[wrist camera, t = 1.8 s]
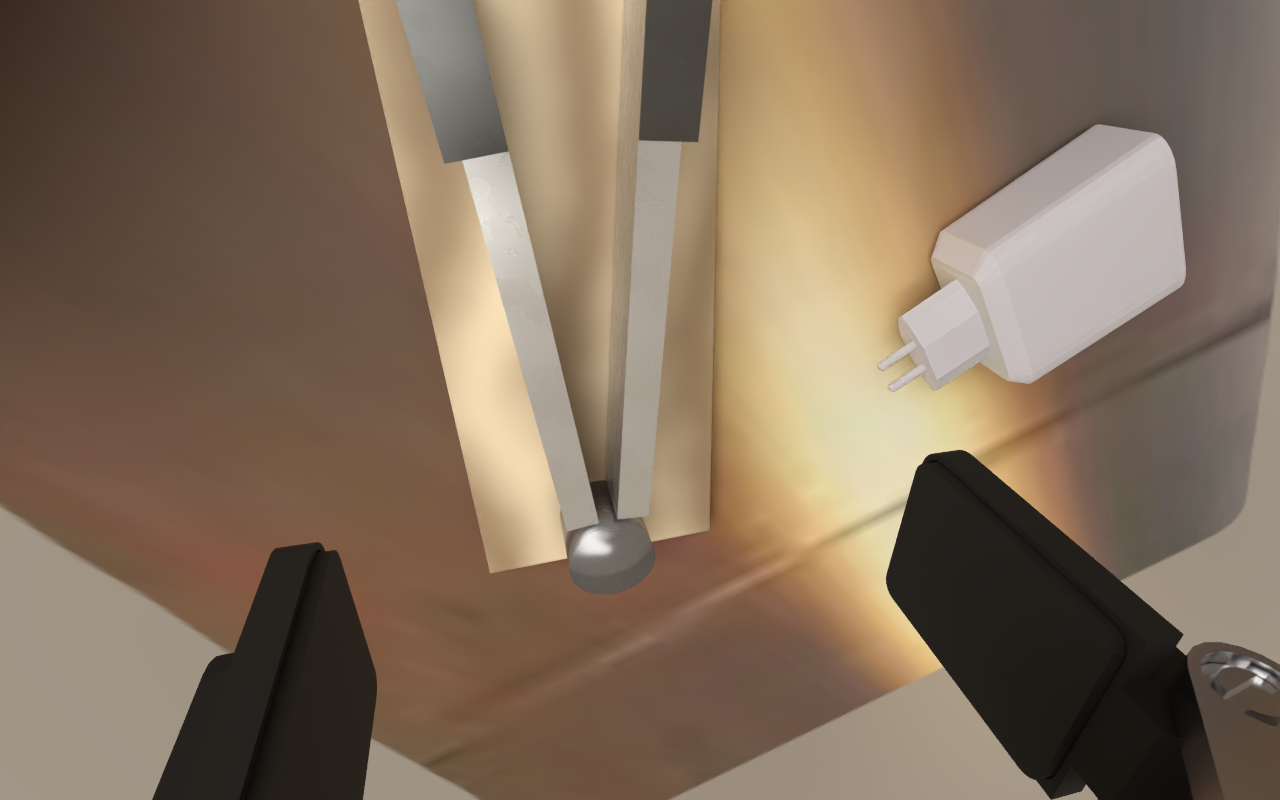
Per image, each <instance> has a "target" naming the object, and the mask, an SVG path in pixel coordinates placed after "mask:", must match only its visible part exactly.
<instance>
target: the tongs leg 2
mask: <svg viewBox="0 0 1280 800" xmlns="http://www.w3.org/2000/svg"><path fill="white" fill-rule="evenodd" d="M712 1H713V0H624V18H623V43H622V67H621V91H620V116H619V140H618V164H617V189H616V213H615V237H614V262H613V286H612V310H611V335H610V359H609V383H608V408H607V432H606V456H605V480H606V483H607V486H608V490H609V493H610V496H611V500H612V503H613V506H614V510H615V513H616V516H617V519H626V518H636V517H645V516H649V509H650V497H651V486H652V475H653V463H654V452H655V440H656V429H657V418H658V406H659V395H660V383H661V372H662V361H663V349H664V338H665V326H666V315H667V304H668V292H669V281H670V269H671V258H672V247H673V235H674V224H675V212H676V201H677V190H678V178H679V167H680V155H681V144H682V142H698V141H699V131H700V121H701V111H702V101H703V91H704V81H705V71H706V61H707V51H708V41H709V31H710V21H711V11H712Z"/></svg>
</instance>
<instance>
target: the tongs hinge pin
mask: <svg viewBox="0 0 1280 800" xmlns="http://www.w3.org/2000/svg"><path fill="white" fill-rule="evenodd" d="M589 484H590V488H591V492H592V496H593V500H594V504H595V508H596V513H597V517H598V521H599V523H597V524H593V525H590V526H586V527H582V528H578V529H575V530H571V531H567V529H566V526H565V522H564V519H563V515H562V512H561V511H560V521H561V526H562V532H563V537H564V543H565V548H566V554H567V559H568V564H569V570H570V574H571V577H572V580H573V581H574V582H575V584H576V585H577V586H578V587H580V588H581V589H583V590H585V591H587V592H590V593H594V594H604V595H605V594H614V593H619V592H622V591H625V590H627V589H630V588H632V587H633V586H635V585H637V584H638V583H639V582H641V581H642V580H643V579H644V578H645V577H646V576H647V575H648V573H649V572H650V571H651V569H652V567H653V564H654V560H655V551H654V547H653V545H652V542H651V539H650V536H649V533H648V530H647V527H646V525H645V522H644V519H643V517H636V518H626V519H617V516H616V513H615V510H614V506H613V503H612V500H611V496H610V493H609V490H608V486H607V483H606V480H601V481H594V482H590V483H589Z"/></svg>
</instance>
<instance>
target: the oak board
mask: <svg viewBox="0 0 1280 800" xmlns="http://www.w3.org/2000/svg"><path fill="white" fill-rule="evenodd" d="M358 1H359V5H360V9H361V14H362V18H363V22H364V27H365V31H366V36H367V40H368V44H369V49H370V53H371V57H372V62H373V66H374V70H375V75H376V79H377V83H378V88H379V92H380V96H381V101H382V105H383V109H384V114H385V118H386V122H387V127H388V131H389V135H390V140H391V144H392V149H393V153H394V157H395V162H396V166H397V170H398V175H399V179H400V183H401V188H402V192H403V196H404V201H405V205H406V209H407V214H408V218H409V222H410V227H411V231H412V235H413V240H414V244H415V248H416V253H417V257H418V262H419V266H420V270H421V275H422V279H423V283H424V288H425V292H426V296H427V301H428V305H429V309H430V314H431V318H432V322H433V327H434V331H435V335H436V340H437V344H438V348H439V353H440V357H441V361H442V366H443V370H444V374H445V379H446V383H447V388H448V392H449V396H450V401H451V405H452V409H453V414H454V418H455V422H456V427H457V431H458V435H459V440H460V444H461V448H462V453H463V457H464V461H465V466H466V470H467V474H468V479H469V483H470V487H471V492H472V496H473V501H474V505H475V509H476V514H477V518H478V522H479V527H480V531H481V535H482V540H483V544H484V548H485V553H486V557H487V561H488V566H489V570H490V573H494V572H500V571H505V570H510V569H515V568H520V567H525V566H530V565H535V564H540V563H545V562H551V561H556V560H561V559H566V558H567V554H566V548H565V543H564V537H563V532H562V526H561V521H560V511H561V508H560V505H559V501H558V497H557V494H556V490H555V487H554V483H553V480H552V476H551V473H550V469H549V466H548V462H547V459H546V455H545V451H544V448H543V444H542V441H541V437H540V434H539V430H538V427H537V423H536V420H535V416H534V413H533V409H532V405H531V402H530V398H529V395H528V391H527V388H526V384H525V381H524V377H523V374H522V370H521V367H520V363H519V359H518V356H517V352H516V349H515V345H514V342H513V338H512V335H511V331H510V328H509V324H508V321H507V317H506V313H505V310H504V306H503V303H502V299H501V296H500V292H499V289H498V285H497V282H496V278H495V275H494V271H493V267H492V264H491V260H490V257H489V253H488V250H487V246H486V243H485V239H484V236H483V232H482V229H481V225H480V221H479V218H478V214H477V211H476V207H475V204H474V200H473V197H472V193H471V190H470V186H469V183H468V179H467V175H466V172H465V168H464V165H463V161H457V162H452V163H447V164H444V161H443V158H442V154H441V151H440V148H439V144H438V141H437V138H436V134H435V131H434V128H433V124H432V121H431V117H430V114H429V111H428V107H427V104H426V101H425V97H424V94H423V91H422V87H421V84H420V81H419V77H418V74H417V70H416V67H415V64H414V60H413V57H412V54H411V50H410V47H409V44H408V40H407V37H406V34H405V30H404V27H403V23H402V20H401V17H400V13H399V10H398V7H397V3H396V0H358ZM472 2H473V6H474V10H475V14H476V19H477V23H478V27H479V31H480V35H481V39H482V43H483V47H484V51H485V56H486V60H487V64H488V68H489V72H490V76H491V80H492V84H493V89H494V93H495V97H496V101H497V105H498V109H499V113H500V117H501V121H502V126H503V130H504V134H505V138H506V142H507V146H508V150H509V155H510V159H511V163H512V167H513V171H514V175H515V179H516V183H517V187H518V192H519V196H520V200H521V204H522V208H523V212H524V216H525V220H526V224H527V229H528V233H529V237H530V241H531V245H532V249H533V253H534V257H535V262H536V266H537V270H538V274H539V278H540V282H541V286H542V290H543V294H544V299H545V303H546V307H547V311H548V315H549V319H550V323H551V327H552V331H553V336H554V340H555V344H556V348H557V352H558V356H559V360H560V364H561V369H562V373H563V377H564V381H565V385H566V389H567V393H568V397H569V401H570V406H571V410H572V414H573V418H574V422H575V426H576V430H577V434H578V438H579V443H580V447H581V451H582V455H583V459H584V463H585V467H586V471H587V476H588V480H589V483H590V482H594V481H601V480H605V456H606V432H607V408H608V383H609V359H610V335H611V310H612V286H613V262H614V237H615V213H616V189H617V164H618V140H619V116H620V91H621V67H622V43H623V18H624V0H472ZM720 4H721V0H713V1H712V11H711V21H710V31H709V41H708V51H707V61H706V71H705V81H704V91H703V101H702V111H701V121H700V131H699V141H698V142H682V144H681V155H680V167H679V178H678V190H677V201H676V212H675V224H674V235H673V247H672V258H671V269H670V281H669V292H668V304H667V315H666V326H665V338H664V349H663V361H662V372H661V383H660V395H659V406H658V418H657V429H656V440H655V452H654V463H653V475H652V486H651V497H650V509H649V516H645V517H643V519H644V522H645V525H646V527H647V530H648V533H649V536H650V539H651V542H652V541H658V540H663V539H668V538H673V537H678V536H683V535H688V534H693V533H698V532H703V531H709V527H710V480H711V432H712V385H713V337H714V289H715V242H716V194H717V147H718V99H719V52H720Z"/></svg>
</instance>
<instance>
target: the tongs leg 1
mask: <svg viewBox="0 0 1280 800" xmlns="http://www.w3.org/2000/svg"><path fill="white" fill-rule="evenodd" d="M396 3H397V7H398V10H399V13H400V17H401V20H402V23H403V27H404V30H405V34H406V37H407V40H408V44H409V47H410V50H411V54H412V57H413V60H414V64H415V67H416V70H417V74H418V77H419V81H420V84H421V87H422V91H423V94H424V97H425V101H426V104H427V107H428V111H429V114H430V117H431V121H432V124H433V128H434V131H435V134H436V138H437V141H438V144H439V148H440V151H441V154H442V158H443V161H444V164H447V163H452V162H457V161H463V165H464V168H465V172H466V175H467V179H468V183H469V186H470V190H471V193H472V197H473V200H474V204H475V207H476V211H477V214H478V218H479V221H480V225H481V229H482V232H483V236H484V239H485V243H486V246H487V250H488V253H489V257H490V260H491V264H492V267H493V271H494V275H495V278H496V282H497V285H498V289H499V292H500V296H501V299H502V303H503V306H504V310H505V313H506V317H507V321H508V324H509V328H510V331H511V335H512V338H513V342H514V345H515V349H516V352H517V356H518V359H519V363H520V367H521V370H522V374H523V377H524V381H525V384H526V388H527V391H528V395H529V398H530V402H531V405H532V409H533V413H534V416H535V420H536V423H537V427H538V430H539V434H540V437H541V441H542V444H543V448H544V451H545V455H546V459H547V462H548V466H549V469H550V473H551V476H552V480H553V483H554V487H555V490H556V494H557V497H558V501H559V505H560V508H561V512H562V515H563V519H564V522H565V526H566V529H567V531H571V530H575V529H578V528H582V527H586V526H590V525H593V524H597V523H599V521H598V517H597V513H596V508H595V504H594V500H593V496H592V492H591V488H590V484H589V480H588V476H587V471H586V467H585V463H584V459H583V455H582V451H581V447H580V443H579V438H578V434H577V430H576V426H575V422H574V418H573V414H572V410H571V406H570V401H569V397H568V393H567V389H566V385H565V381H564V377H563V373H562V369H561V364H560V360H559V356H558V352H557V348H556V344H555V340H554V336H553V331H552V327H551V323H550V319H549V315H548V311H547V307H546V303H545V299H544V294H543V290H542V286H541V282H540V278H539V274H538V270H537V266H536V262H535V257H534V253H533V249H532V245H531V241H530V237H529V233H528V229H527V224H526V220H525V216H524V212H523V208H522V204H521V200H520V196H519V192H518V187H517V183H516V179H515V175H514V171H513V167H512V163H511V159H510V155H509V150H508V146H507V142H506V138H505V134H504V130H503V126H502V121H501V117H500V113H499V109H498V105H497V101H496V97H495V93H494V89H493V84H492V80H491V76H490V72H489V68H488V64H487V60H486V56H485V51H484V47H483V43H482V39H481V35H480V31H479V27H478V23H477V19H476V14H475V10H474V6H473V2H472V0H396Z"/></svg>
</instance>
